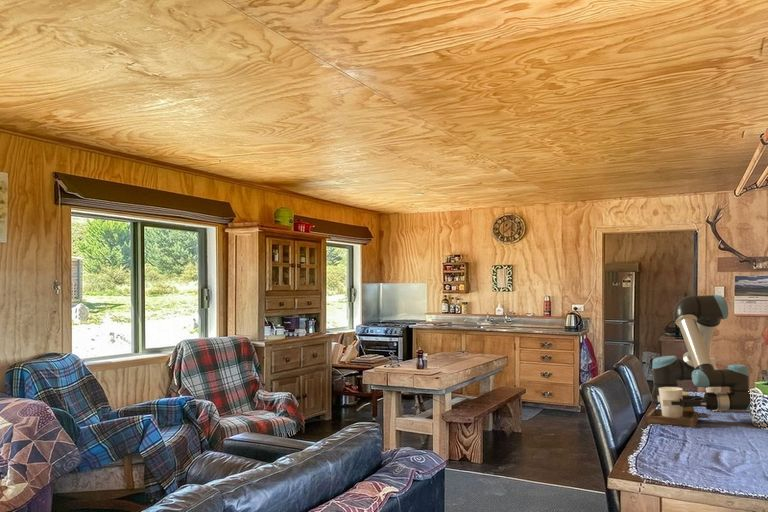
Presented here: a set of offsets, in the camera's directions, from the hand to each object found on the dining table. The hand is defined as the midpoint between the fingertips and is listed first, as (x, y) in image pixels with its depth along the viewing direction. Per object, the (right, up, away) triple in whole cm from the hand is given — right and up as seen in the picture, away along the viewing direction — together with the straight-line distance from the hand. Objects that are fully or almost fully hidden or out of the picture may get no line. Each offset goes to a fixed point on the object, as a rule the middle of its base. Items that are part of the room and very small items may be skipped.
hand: (660, 400), depth 262 cm
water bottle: (+35, -10, +19) cm, 41 cm away
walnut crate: (+5, -9, -2) cm, 10 cm away
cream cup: (+5, -7, -1) cm, 8 cm away
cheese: (+15, -10, +13) cm, 22 cm away
